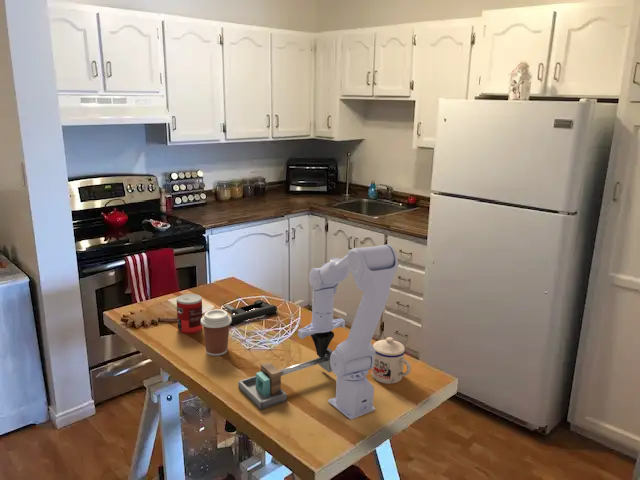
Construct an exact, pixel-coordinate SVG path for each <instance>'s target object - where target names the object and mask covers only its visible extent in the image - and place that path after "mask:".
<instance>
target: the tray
mask: <svg viewBox="0 0 640 480" xmlns="http://www.w3.org/2000/svg"><path fill="white" fill-rule="evenodd" d="M237 383H238V384H237V386H238V389H239V390H240V392H242V393H243V394H244V395H246V397H247V398H248V399H249V400H250V401H251V402H252V403H253V404H254V405H255V406H256V407H257V408H258V409H259V410H261V411H262V410H265V409H268V408H271V407H274V406H276V405H278V404H282V403H285V402H287V400H288V398H287V397H288V393H287V392H285V390H283V389H282V388H281V389H279V394H277V395H274V396H272V395H269V396H266V397H264V396H263V395H262V394H261V393H260V392H259V391H258V390H257V389H256V375H253V376H251V377H250V376H249V377H247V378H244V379H241V380H238V382H237Z"/></svg>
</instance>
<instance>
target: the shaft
mask: <svg viewBox="0 0 640 480" xmlns="http://www.w3.org/2000/svg"><path fill="white" fill-rule="evenodd" d="M333 351H334V350H332V349H331V348H329V347H328V348H327V351H326V354H325V357H322V358H321V357H319V356H318V357H317V358H315V359H314V358H313V359H309V360H307V361H304V362H301V363H300V362H299V363H298V364H294V365H291V366H288V367H284V368H281V369H278V370H279V371H281V377H283V376H286V375H289V374H292V373H295V372H299V371H302V370H304V369H307V368H310V367H313V366H316V365H318V366H320V367H321V368H322V369H323V370H325V371H326V372H327V373H333V371H332V369H331V365H330V356H331V353H332V352H333Z"/></svg>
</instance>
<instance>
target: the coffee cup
mask: <svg viewBox="0 0 640 480" xmlns="http://www.w3.org/2000/svg"><path fill="white" fill-rule="evenodd" d="M228 313H229V312H228V311H226V310H225V309H209V310H207V311H206V312H205V313H204V314H203V315H202V318H201V324H202V329H203V336H204V345H205V346H204V347H205V353H206V354H207V355H209V356H212V357H213V356H215V357H219V356H222V355H225V354H226V353H227V352H228V348H229V347H228V346H229V335H230V333H229V332H230V325H229V324H230V323H231V322H232V319H231V317H230V316H231V315H229V314H228Z"/></svg>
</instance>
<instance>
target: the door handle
mask: <svg viewBox="0 0 640 480" xmlns="http://www.w3.org/2000/svg"><path fill="white" fill-rule="evenodd" d="M225 305H226V306H225ZM223 306H225V309H227V310H228V311H230V312H231V313H230V314H231V315H229V316H230V317H231V319H232V322H231V323H230V324H229V326H231V325H235V324H234V323H236V324H239V323H242V322H243V321H246V320H248V319H251V321H253V320H252V319H255V320H258V319H257V318H259V319H262V318H265V317H266V316H269V315H273V314H276V313H277V312H278V307H277V306H276V305H275V304H270V303H269V302H266V301H264V300H262V299H258V300H255V301H254V302H253V303H252V304H249V305H244V306H241V307H237V308H236V307H233V306H232V305H229V304H227V303H224V304H222V307H223ZM253 308H259V309H255V310H251V309H253ZM225 309H224V310H225ZM249 310H251V311H249ZM228 311H227V312H228ZM246 311H247V312H246ZM233 313H235V315H232V314H233ZM268 314H269V315H268ZM243 323H244V322H243Z"/></svg>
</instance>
